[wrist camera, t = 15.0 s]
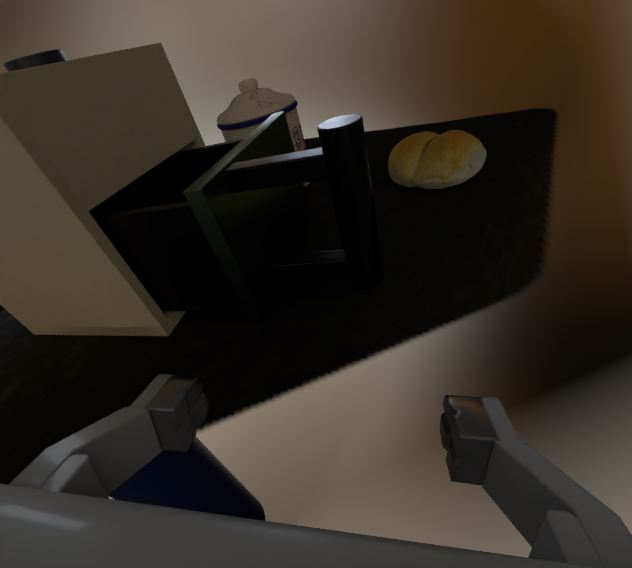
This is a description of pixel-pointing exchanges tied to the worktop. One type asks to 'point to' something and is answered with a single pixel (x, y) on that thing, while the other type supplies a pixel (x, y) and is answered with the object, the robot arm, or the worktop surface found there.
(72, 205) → the cube with dark spot
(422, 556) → the robot arm
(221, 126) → the enamel mug with lid
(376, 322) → the worktop surface
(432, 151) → the bread roll
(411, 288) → the worktop surface
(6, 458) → the worktop surface
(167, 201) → the door with handle
